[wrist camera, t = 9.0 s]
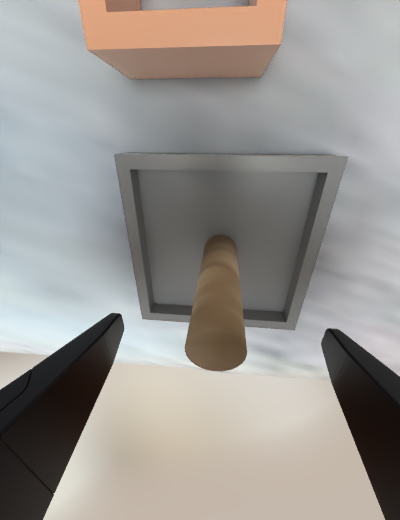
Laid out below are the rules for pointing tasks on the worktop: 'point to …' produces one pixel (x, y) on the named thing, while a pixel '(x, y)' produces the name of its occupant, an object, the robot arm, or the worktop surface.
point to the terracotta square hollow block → (184, 38)
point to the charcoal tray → (227, 226)
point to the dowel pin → (217, 310)
